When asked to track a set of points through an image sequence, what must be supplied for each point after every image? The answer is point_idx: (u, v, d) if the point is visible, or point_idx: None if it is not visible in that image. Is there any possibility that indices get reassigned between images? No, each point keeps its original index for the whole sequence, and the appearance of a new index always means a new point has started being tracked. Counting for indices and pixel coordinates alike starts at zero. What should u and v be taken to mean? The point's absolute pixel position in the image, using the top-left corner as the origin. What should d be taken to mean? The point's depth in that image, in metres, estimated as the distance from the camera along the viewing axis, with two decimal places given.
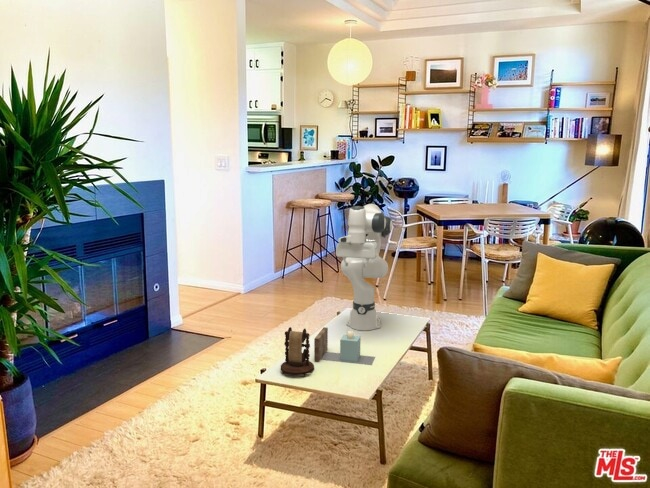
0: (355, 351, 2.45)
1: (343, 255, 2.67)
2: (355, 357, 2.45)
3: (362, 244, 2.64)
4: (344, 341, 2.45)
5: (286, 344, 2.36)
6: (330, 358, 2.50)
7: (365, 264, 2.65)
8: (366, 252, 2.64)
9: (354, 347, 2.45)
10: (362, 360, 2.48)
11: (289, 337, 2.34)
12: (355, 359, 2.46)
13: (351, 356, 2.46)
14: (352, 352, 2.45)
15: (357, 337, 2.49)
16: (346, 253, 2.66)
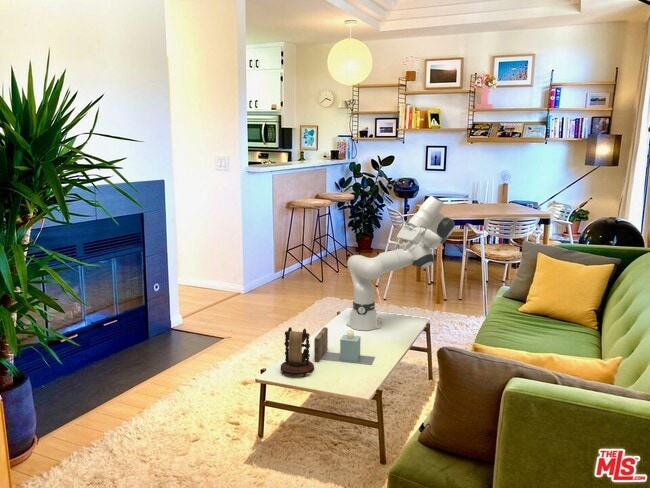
0: (355, 351, 2.45)
1: (399, 236, 2.57)
2: (355, 357, 2.45)
3: (415, 227, 2.48)
4: (344, 341, 2.45)
5: (286, 344, 2.36)
6: (330, 358, 2.50)
7: (404, 246, 2.46)
8: (411, 234, 2.46)
9: (354, 347, 2.45)
10: (362, 360, 2.48)
11: (289, 337, 2.34)
12: (355, 359, 2.46)
13: (351, 356, 2.46)
14: (352, 352, 2.45)
15: (357, 337, 2.49)
16: (402, 234, 2.55)
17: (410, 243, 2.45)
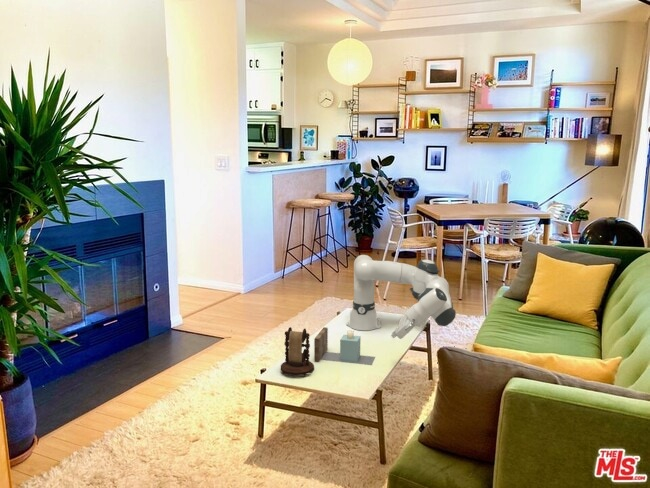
0: (355, 351, 2.45)
1: (400, 321, 2.47)
2: (355, 357, 2.45)
3: (407, 319, 2.36)
4: (344, 341, 2.45)
5: (286, 344, 2.36)
6: (330, 358, 2.50)
7: (393, 333, 2.41)
8: (400, 326, 2.35)
9: (354, 347, 2.45)
10: (362, 360, 2.48)
11: (289, 337, 2.34)
12: (355, 359, 2.46)
13: (351, 356, 2.46)
14: (352, 352, 2.45)
15: (357, 337, 2.49)
16: (402, 320, 2.45)
17: None
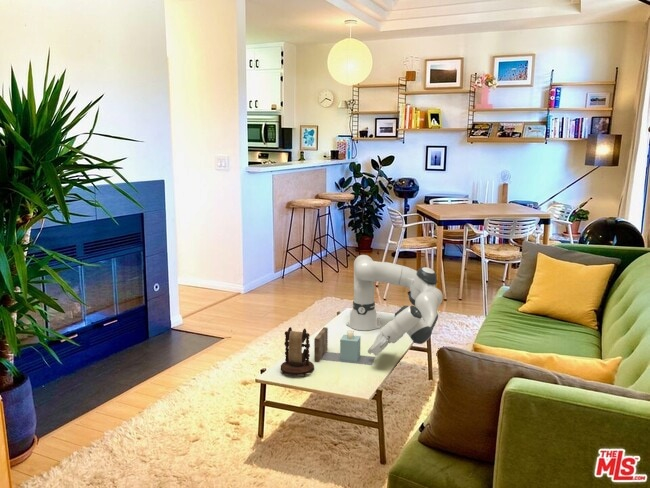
0: (355, 351, 2.45)
1: (377, 337, 2.51)
2: (355, 357, 2.45)
3: (383, 336, 2.40)
4: (344, 341, 2.45)
5: (286, 344, 2.36)
6: (330, 358, 2.50)
7: (369, 349, 2.46)
8: (376, 342, 2.40)
9: (354, 347, 2.45)
10: (362, 360, 2.48)
11: (289, 337, 2.34)
12: (355, 359, 2.46)
13: (351, 356, 2.46)
14: (352, 352, 2.45)
15: (357, 337, 2.49)
16: (378, 336, 2.49)
17: None
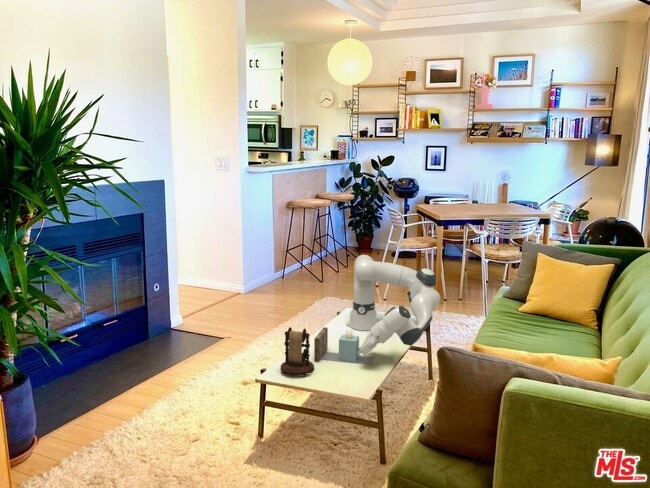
0: (354, 351, 2.45)
1: (366, 337, 2.52)
2: (354, 357, 2.46)
3: (372, 336, 2.41)
4: (343, 341, 2.46)
5: (286, 344, 2.36)
6: (330, 358, 2.50)
7: (359, 349, 2.46)
8: (365, 342, 2.41)
9: (353, 347, 2.45)
10: (362, 360, 2.48)
11: (289, 337, 2.34)
12: (354, 359, 2.46)
13: (350, 356, 2.46)
14: (351, 352, 2.46)
15: (356, 337, 2.49)
16: (368, 336, 2.50)
17: None
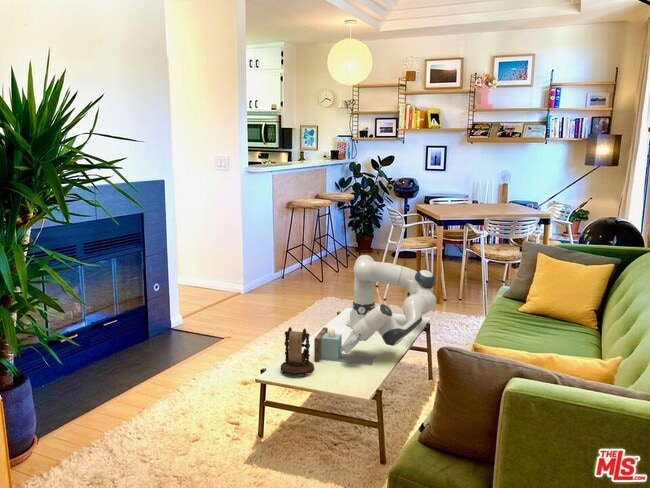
0: (336, 349, 2.47)
1: (349, 335, 2.54)
2: (336, 355, 2.48)
3: (354, 334, 2.44)
4: (325, 339, 2.48)
5: (286, 344, 2.36)
6: None
7: (341, 346, 2.49)
8: (347, 340, 2.43)
9: (335, 345, 2.47)
10: (362, 360, 2.48)
11: (289, 337, 2.34)
12: (336, 357, 2.48)
13: (332, 354, 2.48)
14: (333, 351, 2.48)
15: (338, 335, 2.51)
16: (350, 334, 2.53)
17: None
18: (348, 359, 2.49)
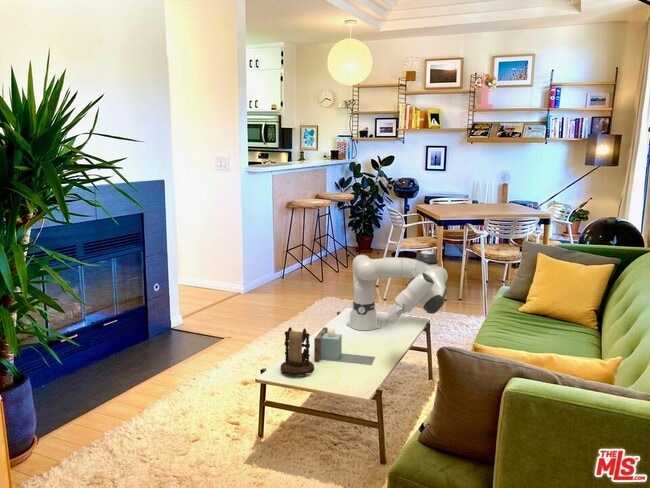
0: (336, 349, 2.47)
1: (389, 311, 2.49)
2: (336, 355, 2.48)
3: (397, 305, 2.39)
4: (325, 339, 2.48)
5: (286, 344, 2.36)
6: None
7: (384, 321, 2.42)
8: None
9: (335, 345, 2.47)
10: (362, 360, 2.48)
11: (289, 337, 2.34)
12: (336, 357, 2.48)
13: (332, 354, 2.48)
14: (333, 351, 2.48)
15: (338, 335, 2.51)
16: (391, 309, 2.47)
17: None
18: (348, 359, 2.49)
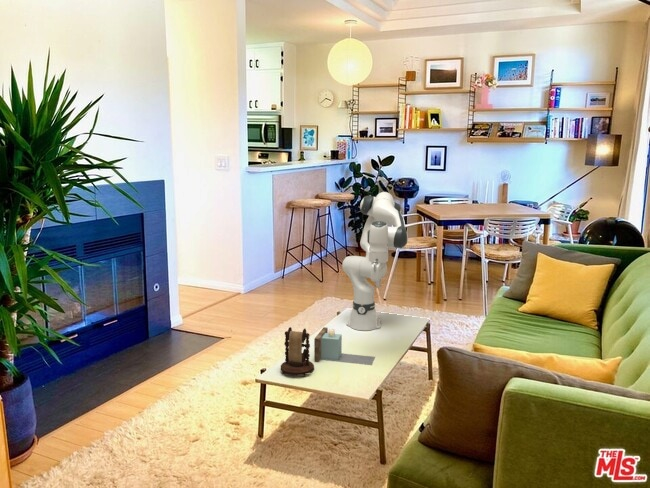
0: (336, 349, 2.47)
1: None
2: (336, 355, 2.48)
3: (373, 263, 2.44)
4: (325, 339, 2.48)
5: (286, 344, 2.36)
6: None
7: None
8: None
9: (335, 345, 2.47)
10: (362, 360, 2.48)
11: (289, 337, 2.34)
12: (336, 357, 2.48)
13: (332, 354, 2.48)
14: (333, 351, 2.48)
15: (338, 335, 2.51)
16: None
17: None
18: (348, 359, 2.49)
